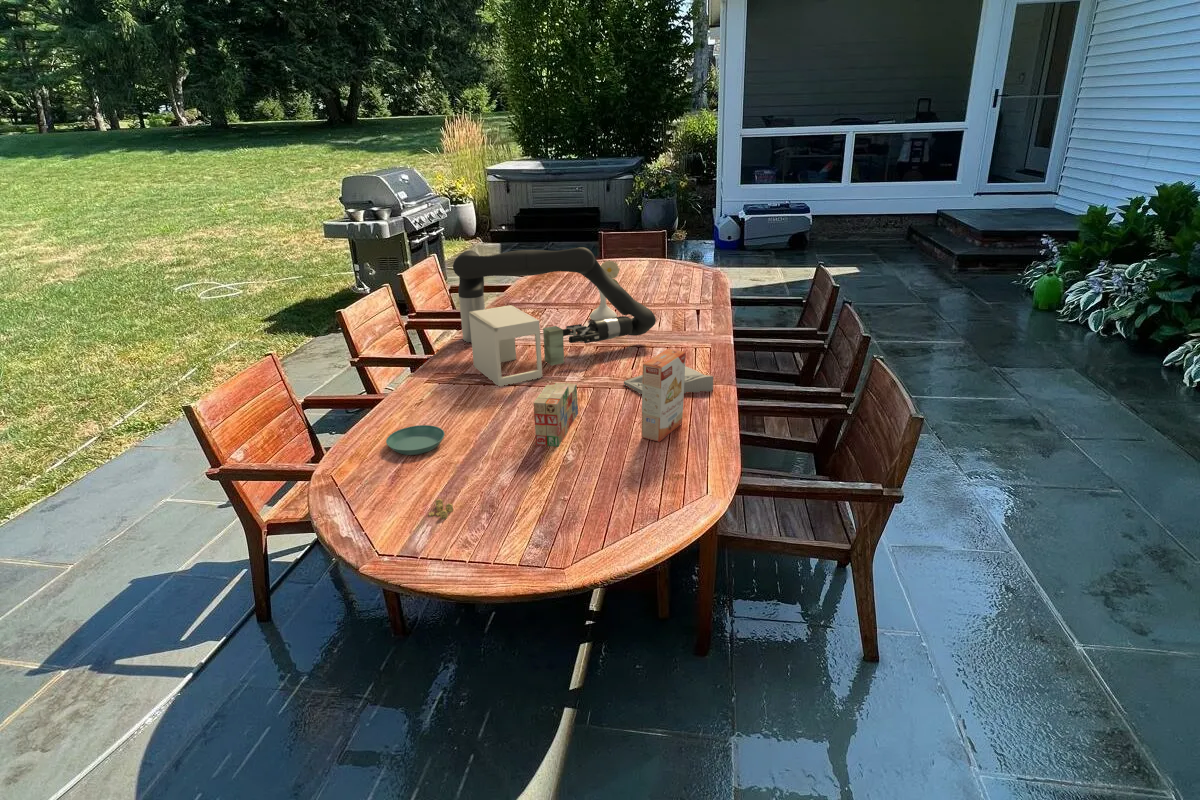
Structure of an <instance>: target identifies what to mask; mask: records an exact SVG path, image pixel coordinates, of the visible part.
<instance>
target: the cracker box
mask: <svg viewBox="0 0 1200 800" xmlns="http://www.w3.org/2000/svg"><path fill="white" fill-rule="evenodd" d="M686 354H687V353H686V352H685V351H682V350H675V349H670V348H667V349H665V350H663V351H662V352H660V353H658V354H657V355H655V356H653V357H651V358H650V359H648V360H647V361H645V362H643V363H642V375H643V381H642V395H641V432H640V433H641V434H640V435H641V438H642V439H646V440H650V441H653V442H654V441H655V442H658V443H660V442H661V441H663V440H664V439H665V438H666V437H667V436H669V435H670V434H671V433H672V432H673V431H674V430H676V429H677V428H678V427H680V426H681V425H682V424H683V419H684V417H683V415H684V413H683V412H684V401H685V400H684V399H685V398H684V394H685V393H684V379H685V366H686V359H687V358H686V356H687V355H686ZM680 424H681V425H680Z"/></svg>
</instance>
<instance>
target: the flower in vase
mask: <svg viewBox="0 0 1200 800" xmlns="http://www.w3.org/2000/svg"><path fill="white" fill-rule="evenodd" d="M600 266H601V267H602V268H603V269H604V271H605V272H606V273H607V274H608V275H609V276H610V277H611V278H612V279H613V280H614V281H615V282H617V283H618V284H619V285H620V283H619V282H618V281H617V279H615V278H617V277H618V274H620V270H621V269H620V267H619V265H618V263H617V262H614V261H612V260H605V261H604V262H602V263H601V264H600ZM596 288H597V287H596ZM597 291H598V293H599V299H600V302H599V305H598V307H596V308H595V309H594V310H592V312H591V313H590V315H589V318H590V320H591V321H593V320H599V319H605V318H615V317H618V314H617V313H616V312H615V311H614V310H613V309H612V308H610V307H609V306H608V305H607V298H606V297H605V296H604V295H603V294H602V292H601V291H600V290H599V289H598V288H597Z"/></svg>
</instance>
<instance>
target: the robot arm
mask: <svg viewBox="0 0 1200 800" xmlns="http://www.w3.org/2000/svg"><path fill="white" fill-rule="evenodd" d="M452 270H453V272H454V275H456V276H457V277H459V281H458V282H459V284H458V288H457V292H458V301H459V302H458V303H459V312H460V322H461V331H462V340H464V341H463V342H465V341H466V342H465V343H469V342H471V344H472V341H471V331H470V321H469V312H471V311H477V310H484V309H486V308H485V295H484V286H485V277H494V276H495V277H528V276H531V277H532V276H539V275H544V274H549V273H554V272H555V273H556V272H561V273H562V272H563V273H564V272H565V273H577V274H580V275H581V276H583V277H584V278H586V279H587V280H589V282H591V283H592V284H593V285H594V286H595V287H596V288H598V289H599V290H600V291H601V292H602V294H603V295H604V296H605V297H606V301H608V302H609V303H610V304H611V305H612V306H613V307H614V308H615V309H616V310H617V311H618V312H619V313H620V314H621V316H617V317H615V318H605V319H599V320H591V321H589V323H588V325H587V326H586V325H583V324H582V323H577V324H572V325H566V326H565V328H562V329H563V337H566V336H568V343H570V344H573V343H578V342H579V343H584V344H589V343H593V342H594V343H595V342H602V341H603V342H604V341H607V340H612V339H615V338H618V337H625V336H633V337H634V336H642V335H645V334H646V333H648V331H650V330H651V329H652V328H653V327H654V326H655V325H656V322H657V319H656V315H655V314H654V312H653V311H652V310H651V309H650V308H648V307H647V306H645V305H644V304H642V303H640V302H639V301H637V300H635V298H633V297H632V296H631V295H630V293H629V292H628V291H626V290H625V288H623V287H622V286H621V285H620V283H619V282H618V281H617V282H618V283H619V284H618V283H617V282H615V281H614V280H613V279H614V278H611V277H610V276H609V275H608V274H607V273H606V272H605V271H604V269H603V268H602V267H601V264H600V262H599V261H598V260H597V259H596V256H595V255H594V253H593V252H592V251H591V250H590V249H589V248H587V247H583V246H582V247H581V246H579V247H574V248H569V249H562V250H544V249H518V250H511V251H506V252H501V253H498V254H494V255H479V253H478V252H476V251H473V250H466V251H464V252H462V253H461V254H459V255H457V257H456V258H455V259H454V260H453V263H452ZM598 289H597V290H598ZM599 290H598V291H599ZM628 315H630V316H631V318H630V317H629V316H628Z"/></svg>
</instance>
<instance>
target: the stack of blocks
mask: <svg viewBox="0 0 1200 800" xmlns="http://www.w3.org/2000/svg"><path fill="white" fill-rule="evenodd" d="M577 388H578V386H577V383H569V382H567V383H565V382H563V383H562V382H555V383H554V384H546V385H545V386H544V388H543V390H542V391H541V392H540V394H539V395H538V396H537V398H536V399H535V400H534V401H533V419H534V420H533V421H534V429H535V431H534V432H535V435H534V436H535V445H536V446H545V447H547V446H549V447H557V448H559V447H560V446H561V443H562V442H563V440H564V439H565V437H566V436H567V434H568V432H569V430H570V428H571V426H572V425H573V422H574V421H575V419H576V418H577V416H578V414H579V408H578V407H579V405H578V401H579V399H578V389H577Z"/></svg>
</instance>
